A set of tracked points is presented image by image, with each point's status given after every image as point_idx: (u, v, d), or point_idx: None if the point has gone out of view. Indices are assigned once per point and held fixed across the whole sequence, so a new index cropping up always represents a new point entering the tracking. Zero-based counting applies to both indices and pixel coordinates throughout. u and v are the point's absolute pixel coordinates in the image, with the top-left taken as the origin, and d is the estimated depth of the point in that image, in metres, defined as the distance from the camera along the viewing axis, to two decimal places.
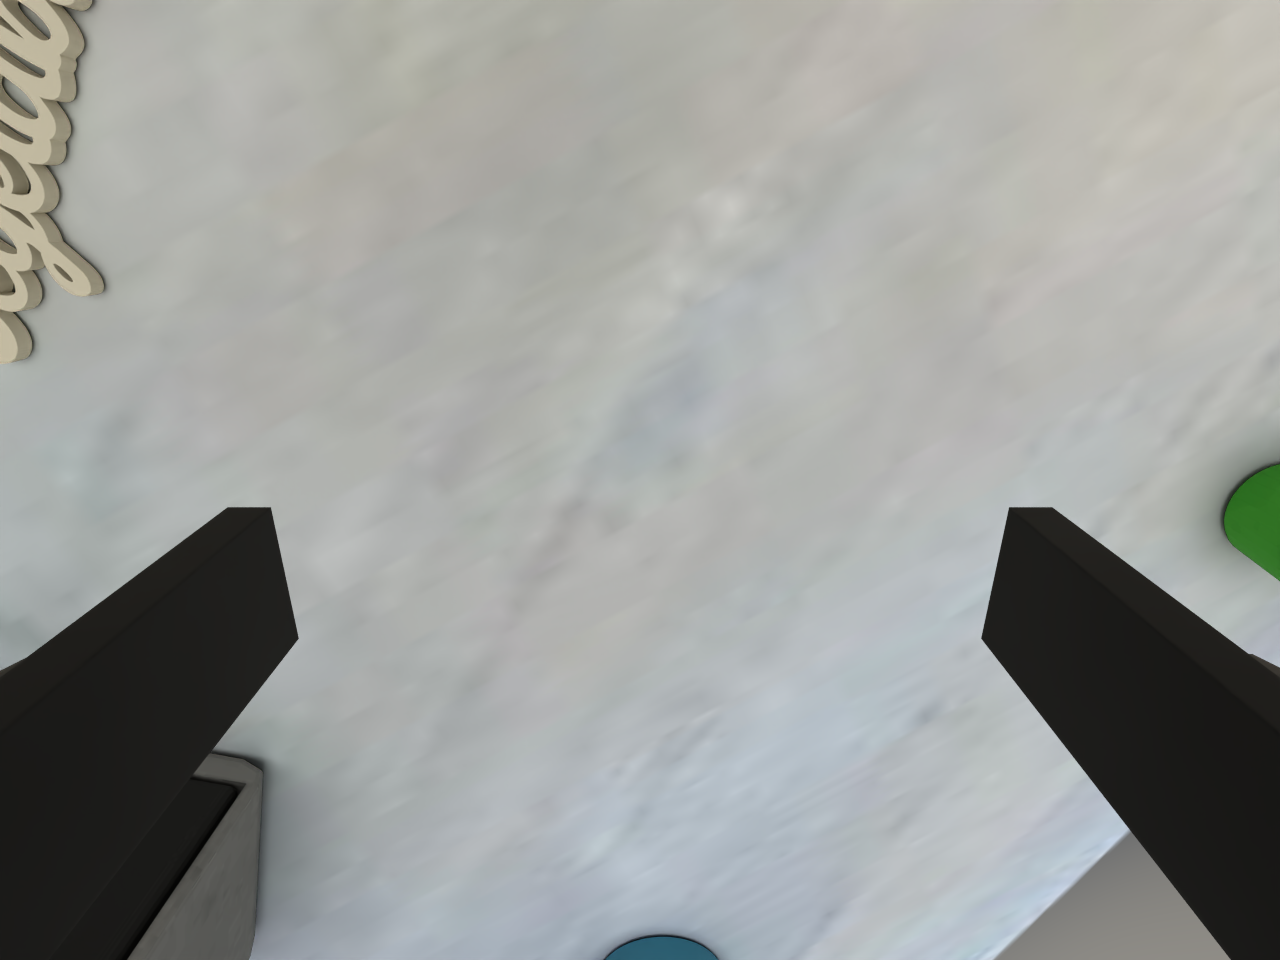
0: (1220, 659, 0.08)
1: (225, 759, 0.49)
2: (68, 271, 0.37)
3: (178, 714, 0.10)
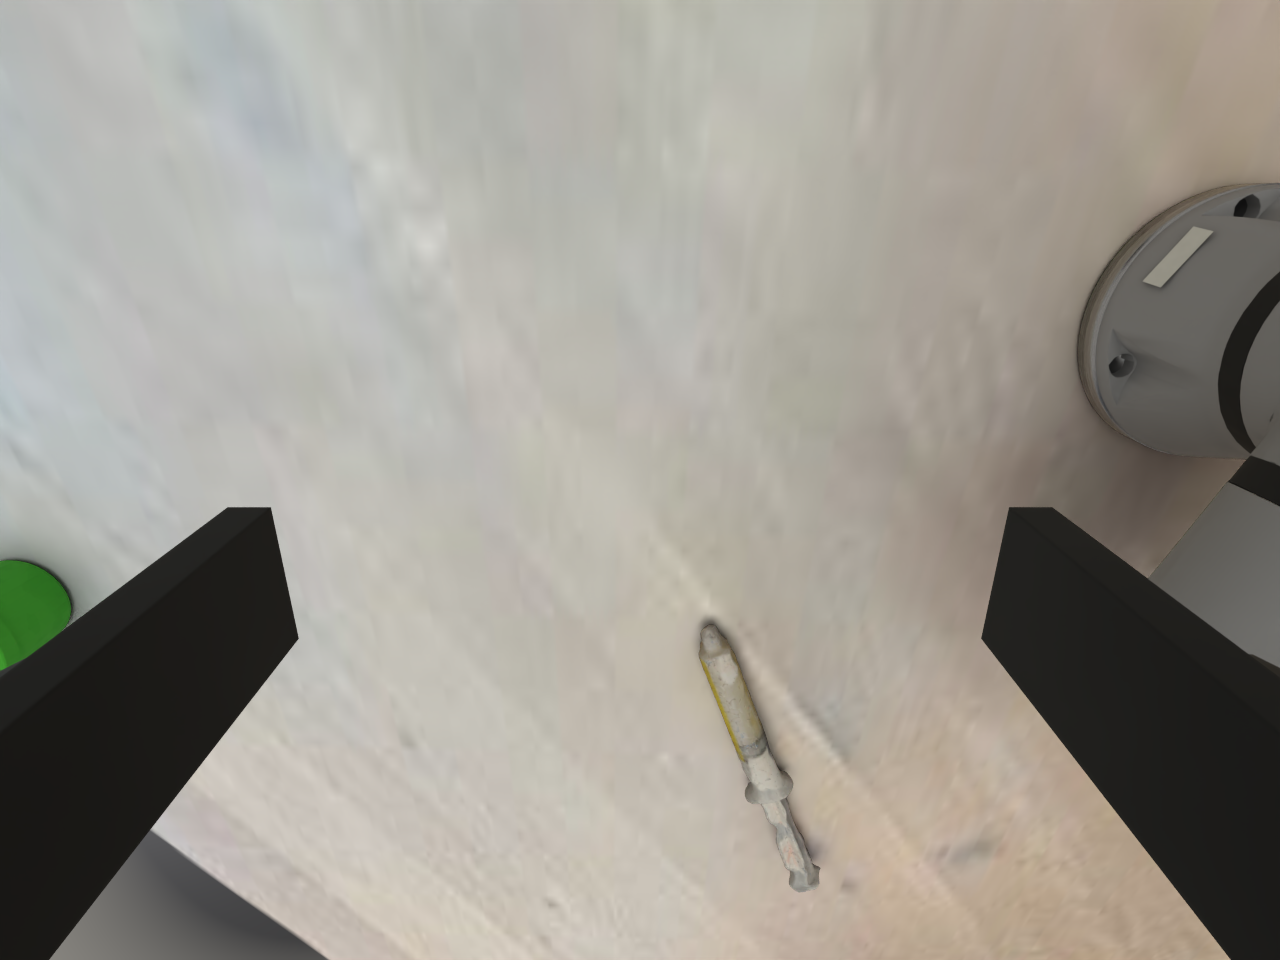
0: (1220, 659, 0.08)
1: None
2: None
3: (178, 714, 0.10)
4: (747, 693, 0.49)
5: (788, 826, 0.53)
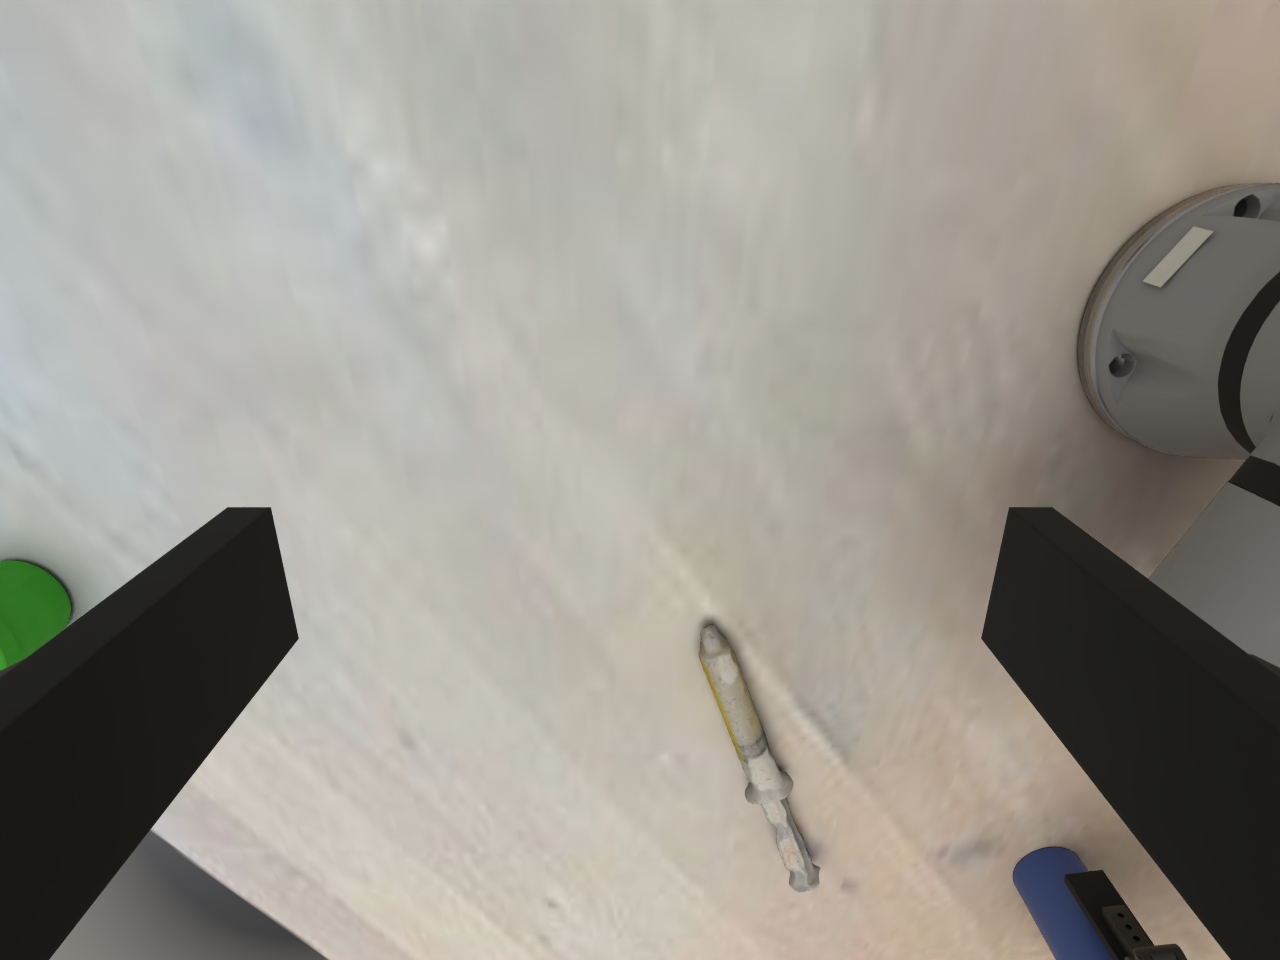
0: (1220, 659, 0.08)
1: None
2: None
3: (178, 714, 0.10)
4: (747, 693, 0.49)
5: (788, 826, 0.53)
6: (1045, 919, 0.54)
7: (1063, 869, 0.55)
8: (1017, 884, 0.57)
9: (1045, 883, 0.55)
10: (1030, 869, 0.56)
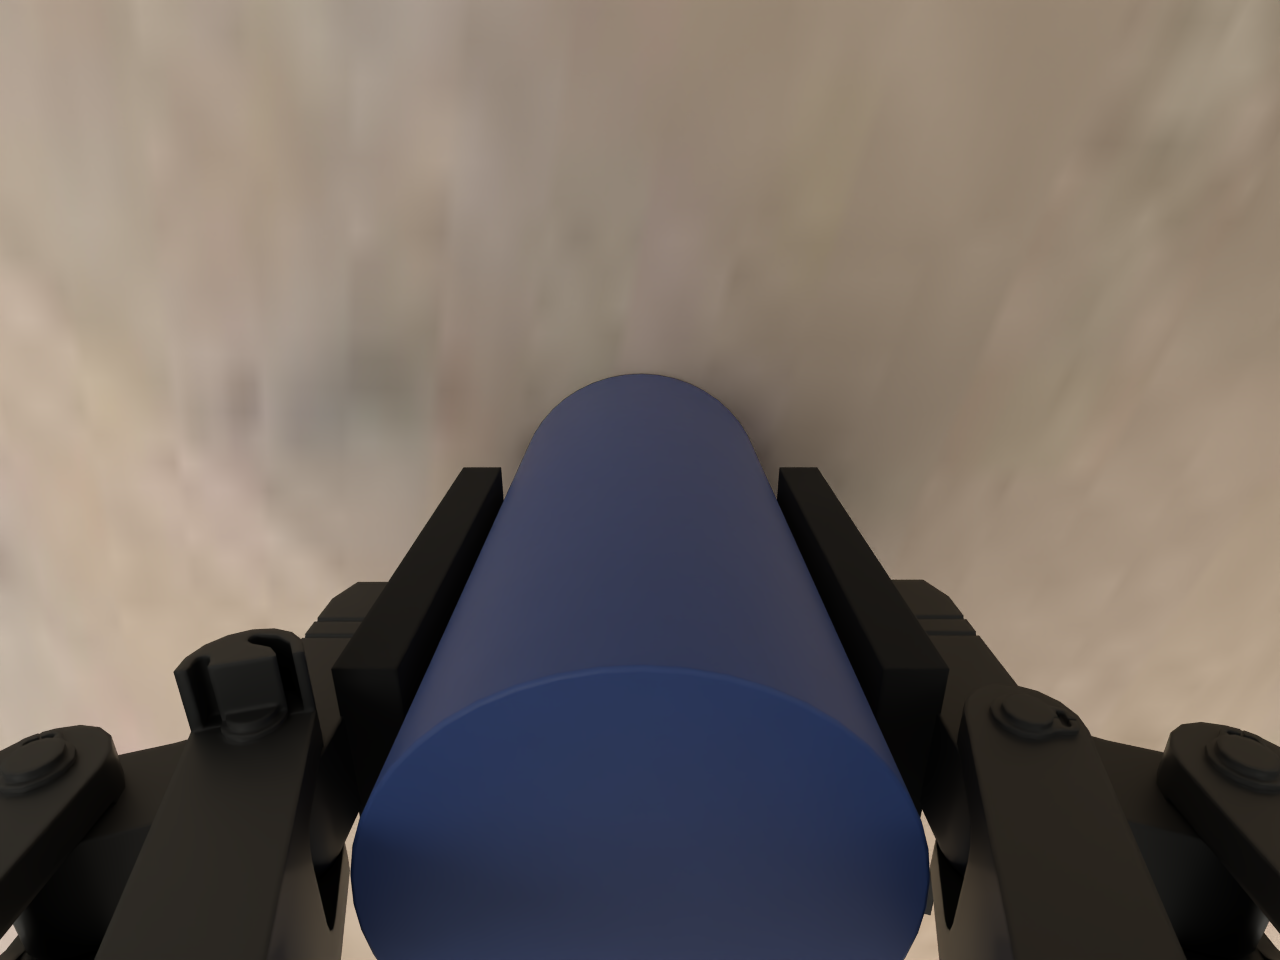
0: (859, 575, 0.10)
1: None
2: None
3: None
4: None
5: None
6: None
7: (617, 400, 0.14)
8: None
9: (536, 448, 0.13)
10: (532, 440, 0.15)
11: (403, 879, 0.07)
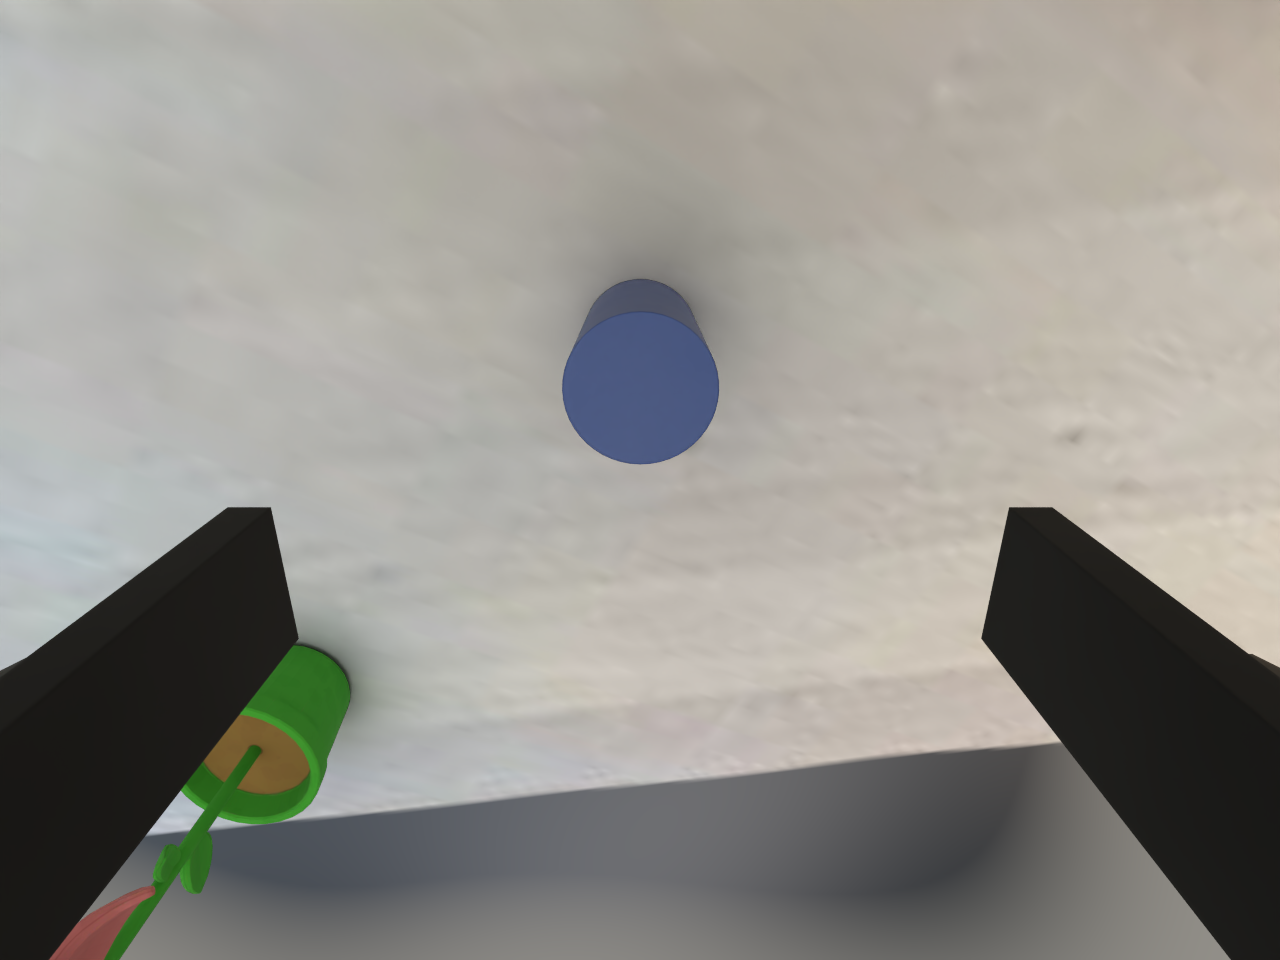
0: (1220, 659, 0.08)
1: None
2: None
3: (178, 714, 0.10)
4: None
5: None
6: None
7: (630, 284, 0.32)
8: None
9: (596, 304, 0.32)
10: (592, 307, 0.33)
11: (577, 380, 0.25)
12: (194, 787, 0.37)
